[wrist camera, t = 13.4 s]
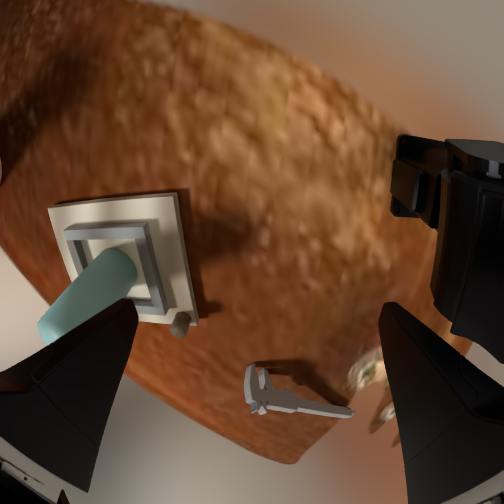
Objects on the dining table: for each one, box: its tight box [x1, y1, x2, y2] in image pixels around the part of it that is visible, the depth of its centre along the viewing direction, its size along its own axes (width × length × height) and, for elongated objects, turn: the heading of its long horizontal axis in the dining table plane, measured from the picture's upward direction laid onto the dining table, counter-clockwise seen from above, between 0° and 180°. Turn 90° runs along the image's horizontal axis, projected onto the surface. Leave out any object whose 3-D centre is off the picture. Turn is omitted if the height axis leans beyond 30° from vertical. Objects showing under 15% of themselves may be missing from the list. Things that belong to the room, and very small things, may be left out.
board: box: [48, 192, 199, 338], centre depth 23 cm, size 14×13×3 cm
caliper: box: [244, 363, 356, 418], centre depth 30 cm, size 20×1×6 cm, turn 51°
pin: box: [37, 248, 137, 345], centre depth 20 cm, size 4×4×10 cm
